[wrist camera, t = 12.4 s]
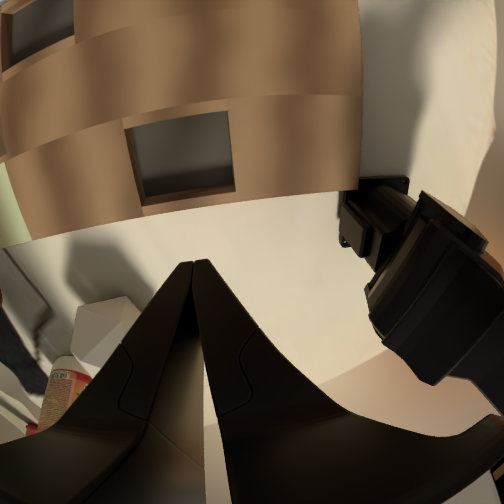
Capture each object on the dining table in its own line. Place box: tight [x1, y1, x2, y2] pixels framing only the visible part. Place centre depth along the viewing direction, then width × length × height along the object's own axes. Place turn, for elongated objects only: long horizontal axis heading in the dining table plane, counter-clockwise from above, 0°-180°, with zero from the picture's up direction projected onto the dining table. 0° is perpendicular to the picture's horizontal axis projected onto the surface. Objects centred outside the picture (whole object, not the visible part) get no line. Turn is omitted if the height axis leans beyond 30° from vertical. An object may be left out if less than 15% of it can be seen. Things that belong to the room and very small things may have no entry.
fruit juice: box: [37, 356, 92, 433], centre depth 20 cm, size 9×9×28 cm
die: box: [70, 296, 141, 379], centre depth 23 cm, size 8×9×10 cm
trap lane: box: [0, 0, 363, 249], centre depth 13 cm, size 32×20×4 cm, turn 94°
